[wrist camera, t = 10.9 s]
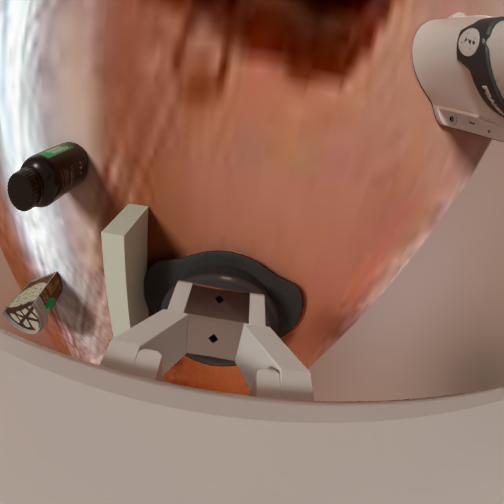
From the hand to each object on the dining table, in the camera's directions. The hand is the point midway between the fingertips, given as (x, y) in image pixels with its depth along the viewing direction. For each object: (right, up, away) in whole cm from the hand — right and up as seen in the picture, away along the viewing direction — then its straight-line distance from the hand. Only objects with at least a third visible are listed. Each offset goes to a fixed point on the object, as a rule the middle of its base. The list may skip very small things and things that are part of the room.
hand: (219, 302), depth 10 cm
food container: (-37, -5, +38) cm, 53 cm away
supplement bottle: (-25, +15, +26) cm, 39 cm away
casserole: (-3, -5, +37) cm, 37 cm away
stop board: (-17, -3, +36) cm, 39 cm away
